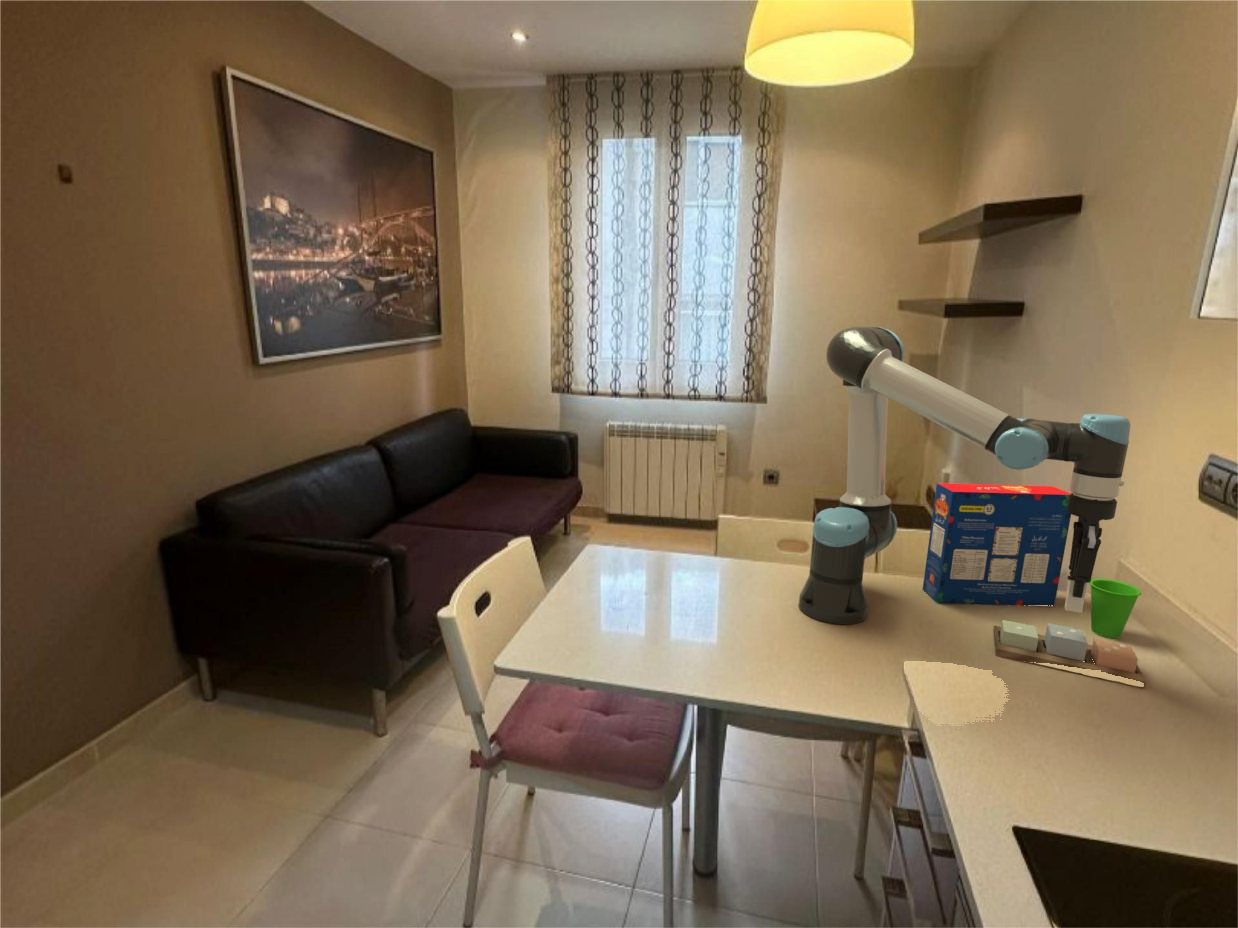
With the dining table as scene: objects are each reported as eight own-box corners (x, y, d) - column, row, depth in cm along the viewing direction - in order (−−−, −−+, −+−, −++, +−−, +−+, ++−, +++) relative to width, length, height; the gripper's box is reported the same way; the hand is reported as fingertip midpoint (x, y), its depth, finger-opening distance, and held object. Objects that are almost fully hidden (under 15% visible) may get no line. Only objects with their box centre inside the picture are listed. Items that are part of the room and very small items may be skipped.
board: (995, 655, 130) (996, 648, 130) (993, 631, 140) (994, 625, 140) (1143, 688, 119) (1145, 681, 119) (1129, 659, 129) (1130, 652, 129)
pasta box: (1033, 593, 162) (1052, 486, 156) (1054, 606, 154) (1074, 494, 148) (922, 590, 162) (936, 483, 156) (937, 603, 154) (952, 491, 148)
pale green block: (1000, 649, 132) (1003, 630, 131) (999, 637, 137) (1002, 619, 136) (1035, 656, 129) (1038, 637, 128) (1032, 643, 134) (1035, 625, 134)
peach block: (1095, 669, 125) (1099, 650, 124) (1090, 656, 130) (1093, 637, 129) (1133, 677, 122) (1138, 658, 121) (1126, 663, 127) (1130, 644, 126)
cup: (1140, 645, 136) (1151, 597, 133) (1092, 640, 137) (1102, 592, 135) (1117, 626, 144) (1127, 580, 142) (1072, 621, 146) (1081, 576, 144)
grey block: (1047, 653, 128) (1051, 634, 127) (1044, 641, 133) (1047, 622, 132) (1084, 661, 125) (1087, 641, 124) (1079, 648, 131) (1082, 629, 130)
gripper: (1125, 506, 115) (1102, 627, 120) (1110, 490, 126) (1090, 602, 131) (1074, 500, 118) (1054, 618, 123) (1064, 486, 130) (1046, 594, 135)
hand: (1073, 610), depth 127 cm, fingers closed
